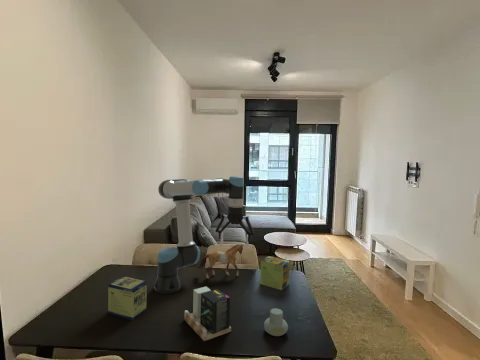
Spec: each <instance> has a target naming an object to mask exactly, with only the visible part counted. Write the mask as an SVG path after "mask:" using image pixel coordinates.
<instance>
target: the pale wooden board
mask: <svg viewBox="0 0 480 360" xmlns="http://www.w3.org/2000/svg"><path fill="white" fill-rule="evenodd" d="M184 321H185V322H186V323H187V325H189V326H190V328H191V329H192V330H193V331H194V332H195V333H196V334H197V335H198V336H199V338H200V339H201V340H202V341H203V342H206V341H209V340H211V339H214V338H216V337H219V336H222V335H225V334H228V333H230V332H232V327H231V325H230V328H227V329H225V330H222V331H220V332H217V333H215V334H212V333H211V332H210V331H208V330H207V329H206V328H205V327H204V326H202V325H201V324H200V317H199V318H197V317H196V316H195V315H194V314H193V312H192V313H191V312H189V310H186V309H185V310H184Z"/></svg>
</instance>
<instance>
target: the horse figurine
mask: <svg viewBox="0 0 480 360" xmlns="http://www.w3.org/2000/svg"><path fill="white" fill-rule="evenodd" d="M244 246H245V245H244V244H236V245H233V246H231V248H229V249H227V250H225V251H219V250H213V251H212V252H210V253H207V254H205V255H204V256H202V258H201V260H200V263H199V265H197V267H196V269H198V270H202V269H203V268H204V267H205V266H206V264H207V259H208V263H209V265H208V267H207V268H206V274H205V276H206V279H210V276H209V272H210V270H211V271H212V275H213V276H215V275H216V272H215V270H214V268H213V267H214V265H215V264H216V262H217V263H218V262H220V263H226V270H225V273H226V276H230V273H229V272H228V269H229V265H230V264H232V266H233V267H234V268H235V270H236V274H235V275H236V276H237V277H239V270H238V269H239V268H238V266H237V264H236V261H237V259H236V258H237V257H236V255H237V253H239V255H240V256H241V255H243V250H244Z"/></svg>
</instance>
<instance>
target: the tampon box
mask: <svg viewBox="0 0 480 360" xmlns="http://www.w3.org/2000/svg"><path fill="white" fill-rule="evenodd" d="M230 311H231V297H230V296H229V295H227V294H226V293H224V292H222V291H221V290H219V289H218V288H216V289H213V290H211V291H209V292H206V293H202V294H201V317H200V324H201V325H202V326H204V327H205V328H206V329H207V330H208V331H210V332H211V333H212V334H215V333H217V332H220V331H222V330H225V329H227V328H230V326H231V323H230V320H231V316H230V315H231V314H230V313H231V312H230Z"/></svg>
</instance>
